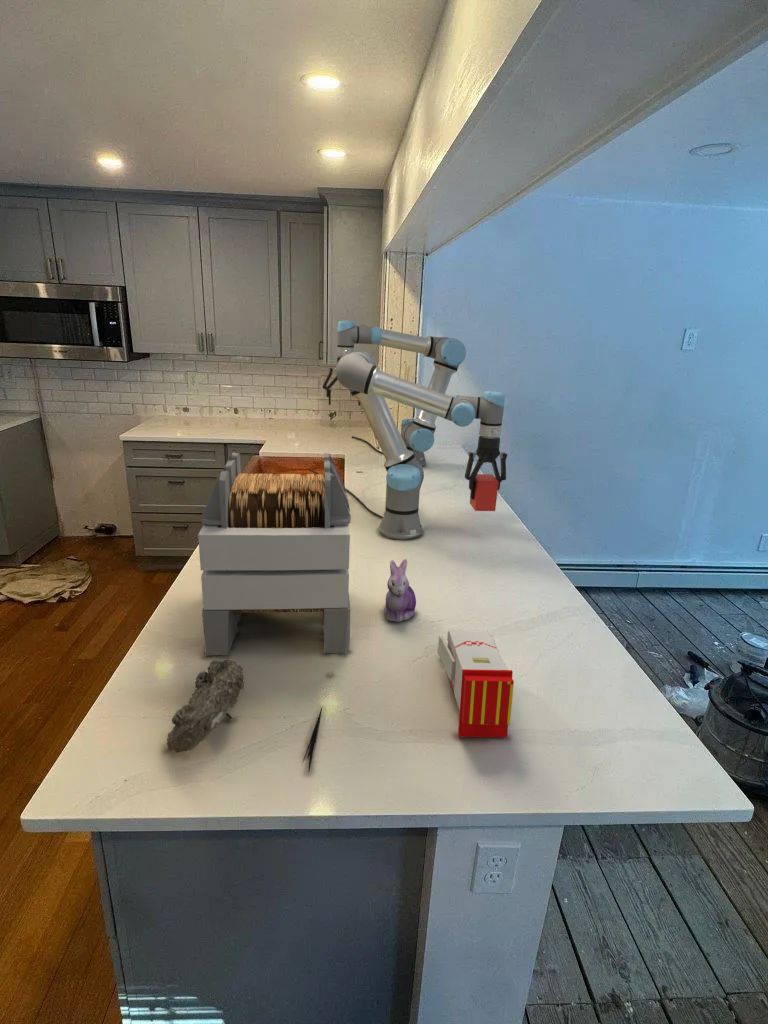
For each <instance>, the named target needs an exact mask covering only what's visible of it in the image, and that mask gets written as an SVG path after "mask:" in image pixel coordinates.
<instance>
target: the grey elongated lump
mask: <svg viewBox="0 0 768 1024" xmlns="http://www.w3.org/2000/svg"><path fill="white" fill-rule="evenodd" d="M243 670H244V669H243V667H242V665H240V664H237V662H236V661H235V660H234V659H232V658H231V659H227V658H226V659H224V660H223V661H222V660H217V659H212V660H211V661H210V663H209V665H208V666H207V671H201V672H199V673H198V674H197V675H196V676H195V680H194V684H195V685H194V687H195V689H194V690H193V693H192V694H191V697H190V698H189V700H188V704H184V705H182V706H181V707H180V709H177V710H176V711H175V713H174V715H173V716H172V718H171V723H172V724H173V727H172V730H171V731H170V732H168V734H167V738H166V741H167V742H166V745H167V749H168V750H169V751H173V752H174V753H176V754H178V753H182V752H188V751H189V752H192V751H193V750H195V748H196V747H197V746H199V744H200V743H201V742H203V741H204V740H205V739H206V738H207V737H208V736H209V735H210V734H211V733H212V732H214V730H215V729H217V727H218V726H219V724H220V722H221V721H222V720H223V719H224V718H225V716H226V717H227V719H229V720H233V717H232V715H230V714H229V710H230V709H231V708H234V706H235V704H236V703H237V702H238V699H239V697H240V695H241V693H242V691H243V690H245V689H244V688H245V675H244V671H243Z"/></svg>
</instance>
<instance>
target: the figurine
mask: <svg viewBox="0 0 768 1024" xmlns="http://www.w3.org/2000/svg"><path fill="white" fill-rule="evenodd" d="M407 567H408V559H406V558H404V559H403V560H402V561H401V563H400V565H399V566H398V565H397V563H396V562H395V561H394V560H393V559H391V560H390V561H389V570H390V576H389V578H388V579H387V589H388V591H387V592H386V594H385V595H386V596H385V607H384V615H385V616H386V620H387V621H391V622H395V623H400V622H402V621H406V620H409V619H410V618H411V617H413V616H414V615H415V610H416V606H417V597H416V593H415V591H414V590H413V587H411V586H410V582H409V579H408V577H407V574H406V571H407Z"/></svg>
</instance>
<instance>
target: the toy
mask: <svg viewBox="0 0 768 1024" xmlns="http://www.w3.org/2000/svg"><path fill="white" fill-rule="evenodd" d="M446 640H447V643H446V641H445V639H444V636H443V635H442V634H439V637H438V646H437V656H438V657H439V659H440V661H441V663H442V666H443V668H444V670H445V672H446V674H447V677H448V679H449V681H450V684H451V687H452V690H453V693H454V697H455V701H456V705H457V708H458V711H459V714H458V715H459V716H458V730H457V731H458V732H457V737H458V738H508V731H509V726H510V725H511V717H512V707H513V697H514V696H513V695H514V684H515V680H514V679H513V673H514V671H513V670H512V669H508V667H507V665H506V662H505V661H504V659H503V658H502V655H501V653H500V651H499V649H498V647H497V643H496V639H495V637H494V635H493V634H491V632H490V631H489V629H467V628H466V629H465V628H463V629H461V628H460V629H459V628H448V630H447V639H446Z"/></svg>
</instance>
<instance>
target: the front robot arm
mask: <svg viewBox="0 0 768 1024" xmlns="http://www.w3.org/2000/svg"><path fill="white" fill-rule="evenodd" d="M335 369H336V371H335V377H336V376H337V379H338V380H337V381H338V382H339V383H340V385H341V386H342V387H344V388H345V389H348V390H349V393H350V395H351V397H352V398H354V399H357V401H358V400H359V402H360V406H361V409H362V411H363V412H364V416H365V417H366V419H367V421H368V424H369V426H370V428H371V430H372V433H373V435H374V437H375V439H376V441H377V443H378V445H379V447H380V451H381V452H383V454H382V455H383V456H384V459H385V461H384V465H383V466H384V468H385V471H386V476H385V482H386V485H385V487H386V488H385V504H384V505H385V507H384V508H385V509H384V513H383V515H380V514H379V513H376V512H375V511H373V510H371V509H370V508H368V507H367V505H365V503H364V502H363V501H361V499H360V498H358V497H357V496H356V495H355V494H354V493H353V492H352V491H350V490H349V489H347V488H346V490H347V494H349V495H351V496H352V497H353V498H354V499H355V500H356V501H357V502H359V503H360V504H361V506H363V508H364V509H365V510H367V511H368V512H369V513H370V514H372V515H373V516H376V517H377V518H379V519H381V522H379V525H378V533H379V534H380V535H381V536H382V537H385V538H387V539H389V540H395V541H410V540H415V539H418V538H420V537H421V536H422V535H423V525H422V524H421V518H420V515H419V507H420V506H419V505H420V504H419V503H420V494H421V493H420V492H421V487H422V485H423V481H424V478H425V474H424V468H423V466H421V464H420V463H419V462H418V461H417V460H416V458H415V456H414V453H413V452H412V451H409V450H407V448H406V446H405V443H404V441H403V439H402V437H401V431H400V430H399V428H398V426H397V424H396V421H395V419H394V417H393V414H392V412H391V411H390V408H389V406H388V403H387V401H386V399H388V400H390V401H393V402H397V403H400V404H401V405H404V406H408V407H412V408H414V409H416V410H419V411H420V410H422V411H425V412H427V413H430V414H433V415H436V416H437V417H439V418H442V419H443V420H447V421H449V422H452V423H453V424H455V425H456V426H458V427H461V428H464V427H468V426H469V425H471V424H472V423H473V421H474V420H475V419H476V420H479V430H478V435H479V436H478V439H477V448H476V449H475V451H468V453H467V454H468V461H467V463H466V468H465V473H464V479H465V480H467V481H468V489H469V490H470V494H471V495H470V494H469V495H470V496H469V498H470V497H471V498H472V499H474V495H475V486H476V482H475V480H474V479H475V477H476V475H477V474H479V471H480V469H481V467H482V466H483V465H484V464H486V463H490V464H491V468H492V471H493V474H494V477H495V478H496V479H497V480H498V481H499V482H498V491H500V489H501V483H502V482H503V481H506V480H507V458H508V453H506V452H505V451H504V452H503V451H500V446H501V438H500V437H501V436H502V435H501V434H502V427H503V426H502V425H503V420H504V419H503V417H504V411H505V397H506V396H505V394H504V393H503V392H501V391H497V390H496V391H495V390H485V391H483V392H482V396H470V395H459V394H456V395H449V394H447V393H445V394H443V393H441V392H438V391H435V390H432V389H429V388H428V387H426V386H424V385H421V384H418V383H416V382H412V381H410V380H408V379H404V378H401V377H399V376H395V375H393V374H390V373H387V372H384V371H381V370H380V368H379V366H378V365H377V362H376V361H375V358H374V357H373V356H372V355H371V354H369V353H368V352H365V351H363V350H362V351H361V350H357V351H355V350H354V352H352V353H350V354H347V355H345V356H343V357H342V358H341V359H340V360H339V362H338V364H337V363H336V366H335ZM476 456H477V460H476V464H475V465H474V468H473V464H474V461H475V460H474V459H475V458H476ZM498 457H499V459H500V471H499V468H498V463H497V459H498ZM307 470H308V471H309V472H310V473H311V472H312V474H315V475H316V474H317V475H318V474H319V475H320V474H321V473H319V472H317V471H315V470H313V469H311V468H308V469H307Z"/></svg>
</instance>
